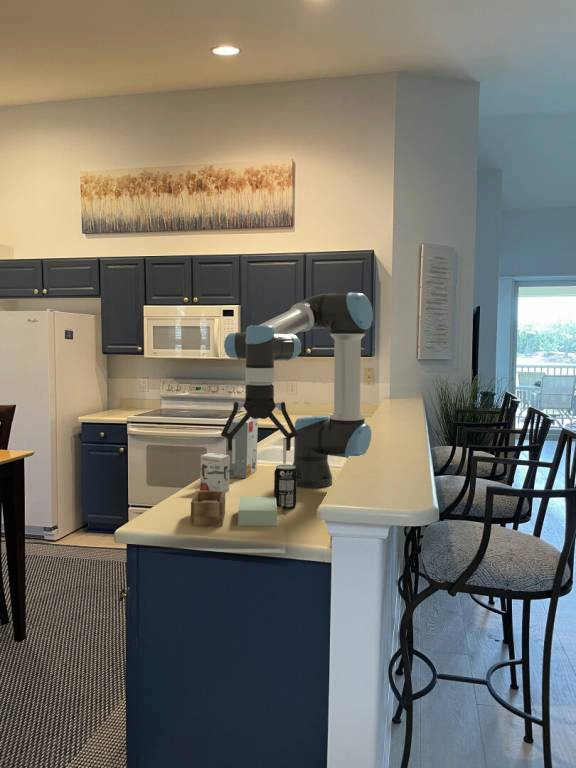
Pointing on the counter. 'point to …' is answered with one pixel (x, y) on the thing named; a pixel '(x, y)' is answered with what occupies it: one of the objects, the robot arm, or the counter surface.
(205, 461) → the ink box
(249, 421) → the hard drive box
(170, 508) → the counter surface
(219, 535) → the counter surface
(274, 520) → the lid
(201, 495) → the crate
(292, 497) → the beverage can
